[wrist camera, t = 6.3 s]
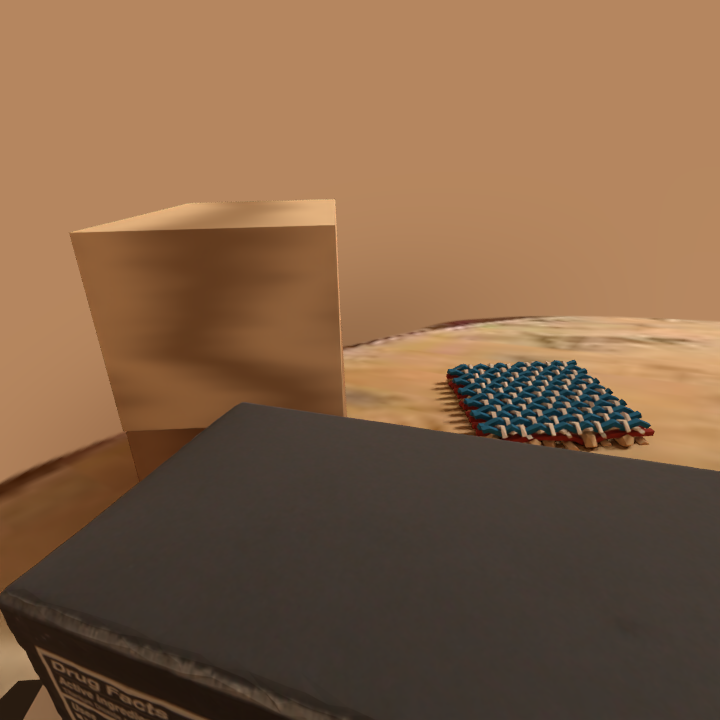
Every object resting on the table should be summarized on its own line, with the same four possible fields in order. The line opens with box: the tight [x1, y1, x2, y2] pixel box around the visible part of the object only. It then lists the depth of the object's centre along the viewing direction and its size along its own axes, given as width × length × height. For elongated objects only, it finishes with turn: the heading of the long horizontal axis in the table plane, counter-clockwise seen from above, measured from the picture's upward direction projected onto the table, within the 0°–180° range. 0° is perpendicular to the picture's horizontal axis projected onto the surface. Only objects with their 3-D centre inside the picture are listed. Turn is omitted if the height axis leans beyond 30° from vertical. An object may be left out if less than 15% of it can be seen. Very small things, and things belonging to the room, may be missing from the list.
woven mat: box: [446, 360, 655, 451], centre depth 31 cm, size 10×11×2 cm
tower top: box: [69, 199, 343, 431], centre depth 20 cm, size 8×12×7 cm, turn 3°
